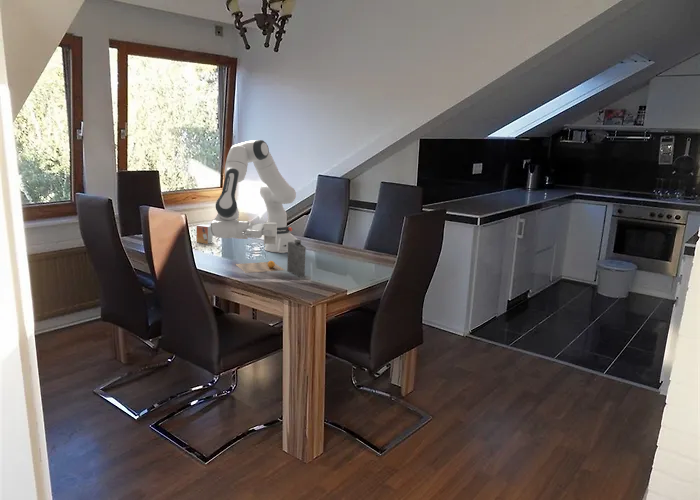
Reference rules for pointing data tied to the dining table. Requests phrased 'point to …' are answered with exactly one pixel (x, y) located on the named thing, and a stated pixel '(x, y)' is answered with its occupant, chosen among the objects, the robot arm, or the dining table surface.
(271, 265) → the orange ball
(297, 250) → the flask
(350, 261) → the dining table surface
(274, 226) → the white carton
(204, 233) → the small box
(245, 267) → the tan flat board
